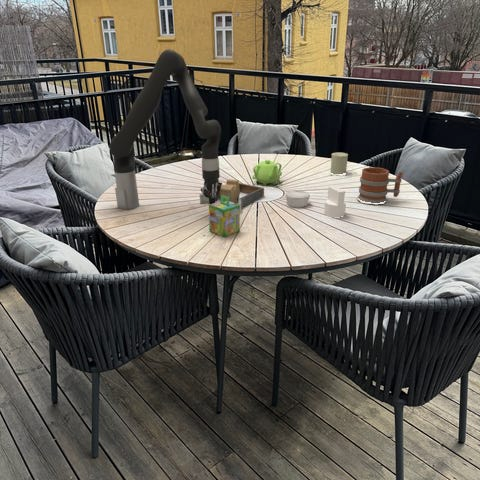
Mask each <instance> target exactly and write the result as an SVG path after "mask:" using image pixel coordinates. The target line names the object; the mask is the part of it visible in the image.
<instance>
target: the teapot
mask: <svg viewBox="0 0 480 480" xmlns="http://www.w3.org/2000/svg"><path fill="white" fill-rule="evenodd" d="M278 166H279V167H278ZM252 168H253V169H252V170H253V175H252V179H253V180H256V181H257V183H259V184H260V183H261V185H262V186H264V187H266V186H268V184H272V185H277V184H278V183H277V182H279V181H280V179H281V177H282V175H283V174H282V164H281V163H280V162H275V161H271V160H270V159H264V160H262V161H260V162H258V164H257V165H256V164H255V165H254V166H253V167H252Z"/></svg>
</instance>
